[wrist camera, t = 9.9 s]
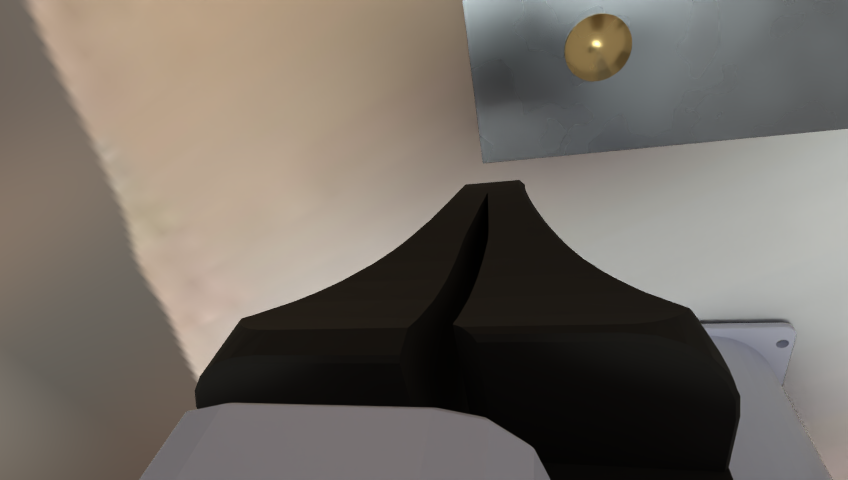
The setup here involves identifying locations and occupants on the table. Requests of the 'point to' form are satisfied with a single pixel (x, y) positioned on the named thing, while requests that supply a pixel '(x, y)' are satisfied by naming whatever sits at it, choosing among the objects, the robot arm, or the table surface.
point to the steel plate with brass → (652, 72)
